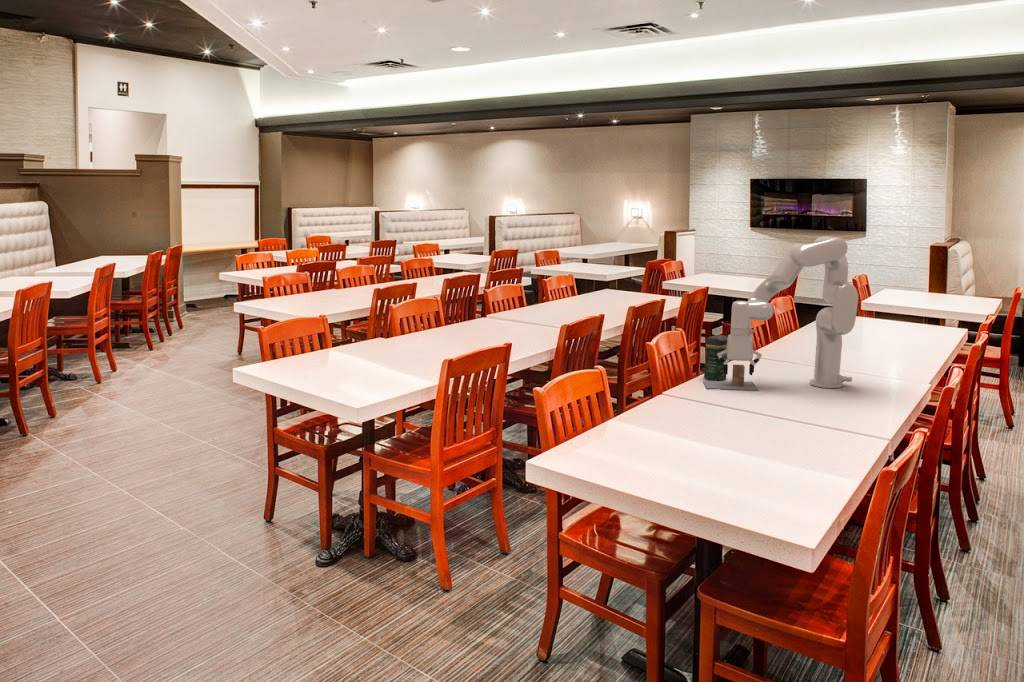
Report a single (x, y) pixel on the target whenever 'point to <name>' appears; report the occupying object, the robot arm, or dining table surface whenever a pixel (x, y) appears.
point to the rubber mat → (730, 385)
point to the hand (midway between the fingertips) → (738, 374)
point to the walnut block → (738, 375)
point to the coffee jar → (715, 357)
